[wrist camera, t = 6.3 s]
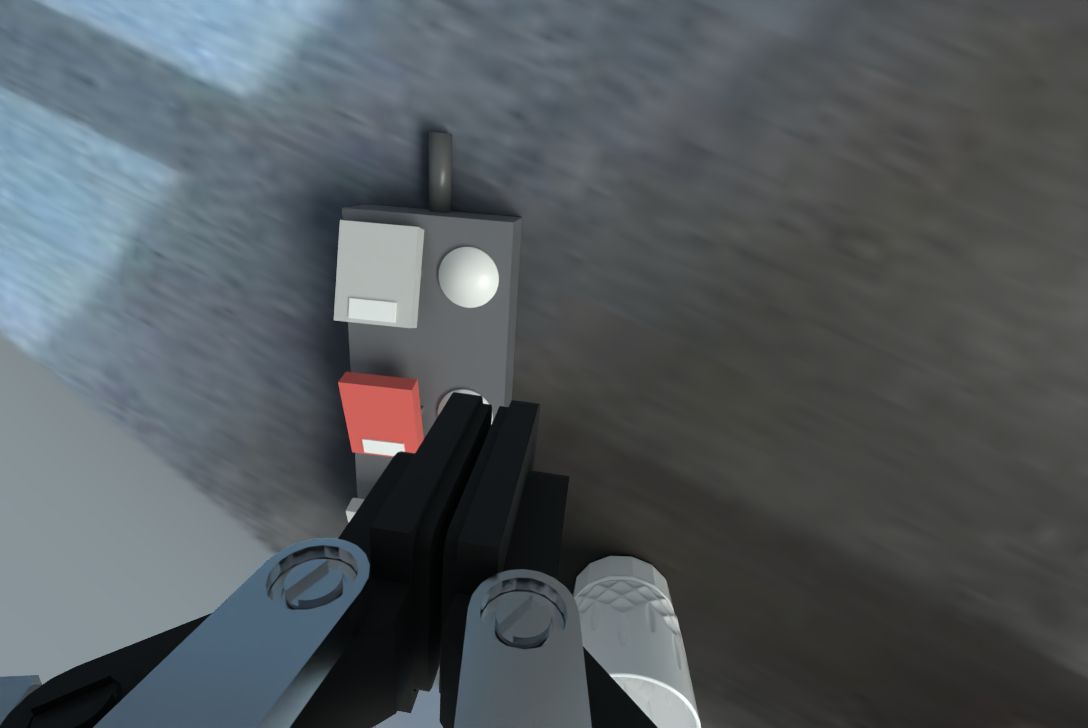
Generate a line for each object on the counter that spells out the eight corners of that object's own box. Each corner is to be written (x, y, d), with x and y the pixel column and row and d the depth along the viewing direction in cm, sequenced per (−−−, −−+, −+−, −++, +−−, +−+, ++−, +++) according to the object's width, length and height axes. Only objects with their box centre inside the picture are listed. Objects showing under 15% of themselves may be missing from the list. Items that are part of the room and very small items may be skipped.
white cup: (548, 611, 40) (530, 748, 31) (592, 529, 37) (586, 652, 28) (647, 651, 40) (659, 799, 31) (698, 573, 37) (729, 710, 28)
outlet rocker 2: (346, 371, 30) (337, 383, 29) (417, 379, 30) (411, 391, 29) (359, 440, 33) (351, 453, 32) (424, 448, 32) (419, 461, 31)
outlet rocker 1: (348, 223, 28) (338, 219, 27) (424, 230, 28) (417, 226, 27) (342, 320, 29) (332, 320, 28) (416, 327, 28) (409, 328, 27)
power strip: (362, 127, 30) (331, 122, 27) (526, 139, 29) (515, 136, 26) (378, 526, 39) (356, 560, 36) (503, 542, 38) (493, 579, 35)
